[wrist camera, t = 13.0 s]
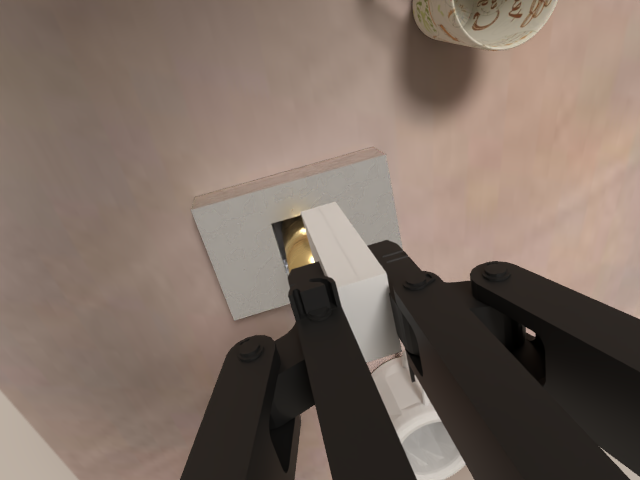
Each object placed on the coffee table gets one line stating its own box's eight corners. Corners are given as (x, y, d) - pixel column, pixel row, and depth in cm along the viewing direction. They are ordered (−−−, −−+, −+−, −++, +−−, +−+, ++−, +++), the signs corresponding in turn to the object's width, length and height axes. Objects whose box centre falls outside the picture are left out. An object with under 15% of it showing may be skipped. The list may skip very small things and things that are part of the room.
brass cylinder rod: (276, 217, 42) (283, 259, 33) (313, 204, 42) (331, 243, 33) (288, 251, 44) (298, 300, 35) (324, 239, 44) (344, 285, 35)
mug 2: (440, 409, 57) (479, 474, 48) (364, 428, 56) (388, 498, 47) (439, 326, 52) (482, 382, 43) (354, 345, 51) (380, 406, 42)
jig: (195, 197, 40) (190, 210, 37) (373, 146, 42) (385, 154, 38) (234, 300, 45) (234, 320, 42) (392, 252, 47) (405, 268, 43)
